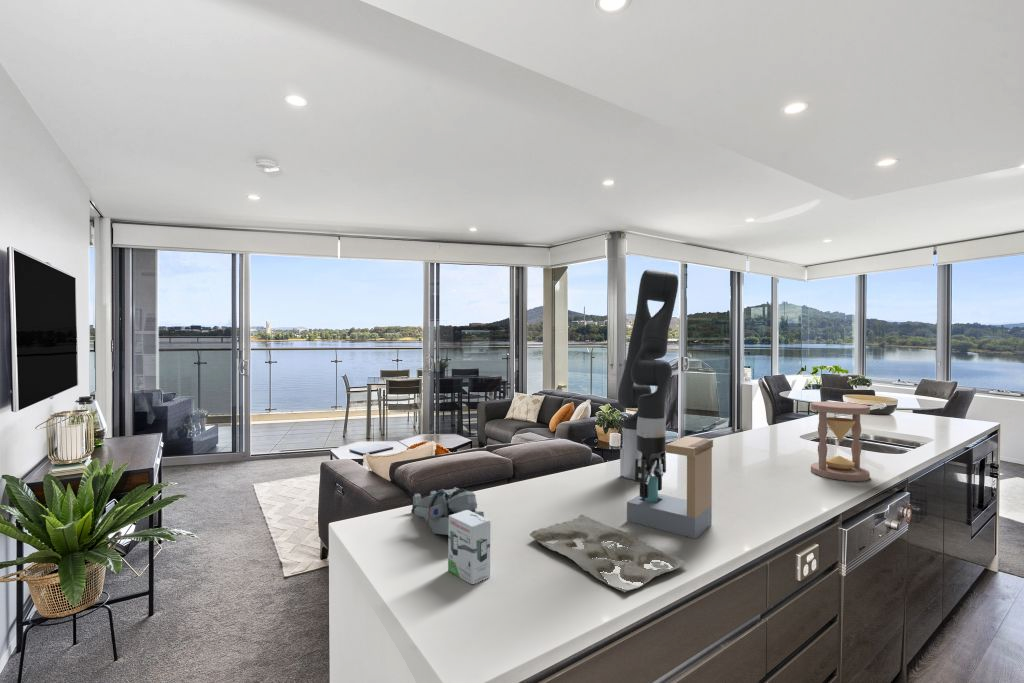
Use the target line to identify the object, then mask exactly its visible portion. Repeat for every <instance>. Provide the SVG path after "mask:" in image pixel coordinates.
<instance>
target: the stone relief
mask: <svg viewBox="0 0 1024 683" xmlns="http://www.w3.org/2000/svg"><path fill="white" fill-rule="evenodd" d="M529 536H530V537H531V538H533V539H534V540H535V542H536V543H537V545H542V546H544V547H545V548H547V549H549V550H551V551H554V552H558V553H559V554H561V555H563V556H566V557H567V558H569V559H570V560H572V561H574V563H576V565H577V566H578V567H580V568H581V569H582V570H583V571H586V572H589V573H590V574H591V575H592V576H594V577H595V578H596V579H597V580H600V581H601V582H603V583H605V584H606V585H608V586H609V587H613V586H614V585H613V586H611V585H612V584H611V585H609V584H608V582H607V580H608V579H607V580H606V579H604V577H605V576H603V573H600V572H603V571H604V572H607V573H611V572H613V570H614V569H615V566H618V565H619V566H618V567H620V568H621V569H620V573H619V574H620V577H621V578H622V579H624V580H626V581H630V582H632V583H633V582H641V583H643V585H642V586H641V587H644V585H646V583H648V582H650V581H651V580H652V579H653V578H655V577H658V576H661V575H663V574H665V573H668V572H672V571H674V570H676V569H679V568H681V567H683V566H684V564H686V563H687V561H686V560H684V559H682V558H679V557H677V556H675V555H672V554H668V553H666V552H664V551H662V550H660V549H658V548H655V547H654V546H651V545H650V544H647V543H646V542H645V541H641V540H639V539H638V538H636V537H635V536H633V535H632V534H630V533H628V532H625V531H623V530H621V529H617V528H615V527H612V526H609V525H606V524H604V523H602V522H600V521H599V520H595V519H593V518H590V517H587V516H586V515H584V514H580V515H579V516H578V517H577V518H573V519H571V520H569V521H568V520H567V521H562V522H561V523H555V524H553V525H549V526H547V527H544V528H539V529H535V530H533V531H532V532H530V533H529ZM580 538H583V539H582V541H581V543H583V544H582V546H583V545H584V546H583V547H584V549H583V548H582V549H581V548H579V549H578V545H577V543H576V542H575V541H574V539H580ZM550 541H554V543H551V542H550ZM555 541H556V542H555ZM603 541H604V542H607V541H613V544H614V545H616V543H619V545H622V546H625V548H621V549H620V548H619V549H614V548H610V547H609V548H608V547H607V546H608V545H604V544H603V543H601V542H603ZM614 542H616V543H614ZM603 545H604V546H603ZM610 545H611V544H610ZM611 546H612V545H611ZM572 547H577V548H572ZM612 547H613V546H612ZM615 547H616V548H617V545H616V546H615ZM627 547H628V548H627ZM613 549H614V550H615V551H614V550H613ZM596 557H597V558H607V559H611V560H615V561H622V560H630V561H631V562H629V561H625V562H624V563H623V564H617V565H614V564H615V563H614V562H613V561H611V560H606V559H592V558H596ZM652 560H660V561H664V562H666V563H669V564H670V565H671V566H672V567H673V568H671V569H666V568H662V569H657V570H653V569H646V568H644V564H650V562H651V561H652ZM622 562H623V561H622ZM619 587H620V586H615V587H613V588H615V589H616V590H619V591H621V592H622V593H627V592H628V591H632V590H636V589H635V588H636V587H634V588H630V589H625V588H624V589H622V588H619ZM639 588H640V587H638V586H637V589H639Z"/></svg>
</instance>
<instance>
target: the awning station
mask: <svg viewBox="0 0 1024 683" xmlns="http://www.w3.org/2000/svg"><path fill="white" fill-rule="evenodd" d="M712 448H714V439H712V438H704V437H697V436H690V435H689V436H688V435H686V436H683V437H680V438H679V439H676V440H674V441H671V442H669V443H666V451H665V452H666V453H667V454H673V455H677V456H679V455H680V456H685V457H686V499H685V498H679V497H675V496H670V495H667V494H666V495H665V494H661V493H658V503H656V504H654V503H650V502H646V501H645V498H642V497H640V494H639V495H637V496H635V497H634V498H632V499H630V500H628V501H627V502H626V521H627V522H630V521H631V523H635V524H637V523H638V524H639V525H642V526H646V527H648V528H649V527H650V528H654V529H657V530H661V531H664V532H669V533H672V534H675V535H678V536H679V535H680V536H683V537H687V536H688V537H687V538H690V537H691V539H694V538H695V539H697V538H698V537H699V536H700V535H701V534H702V533H703V532H705V529H706V530H707V529H708V528H709V527H710V526H712V525H713V524H712V522H713V521H712V520H713V519H712V518H713V517H712V507H713V506H712V505H713V504H712V502H713V501H712V500H713V499H712V497H713V496H712V495H713V494H712V491H713V488H712V486H713V485H712V484H713V483H712V482H713V481H712V480H713V479H712V478H713V477H712V476H713V473H712V472H713V471H712V469H713V464H712V462H713V449H712ZM698 535H699V536H698Z"/></svg>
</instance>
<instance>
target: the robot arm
mask: <svg viewBox="0 0 1024 683" xmlns="http://www.w3.org/2000/svg"><path fill="white" fill-rule="evenodd" d="M678 288H679V276H678V275H677V274H676V273H675V272H671V271H663V270H655V269H645V270H644V271H643V273H642V275H641V277H640V282H639V287H638V294H637V301H636V309H635V316H634V320H633V325H632V329H631V334H630V339H629V341H628V342H629V343H628V347H627V356H626V360H625V365H624V370H623V373H622V377H621V380H620V383H619V386H618V391H617V402H618V405H619V406H620V407H621V408H622V409H637V410H636V412H634V413H633V414H632V415H629V416H628V417H625V418H624V419H623V420H622V448H620V450H619V452H620V453H619V454H620V455H619V459H620V460H619V461H620V462H619V467H620V468H619V470H620V472H619V476H620V477H624V478H625V479H629V480H634V482H635V483H639V495H640V497H642V498H648V496H649V484H648V482H649V479H650V477H652V476H656V477H658V492H659V491H662V490H663V477H664V474H666V472H667V456H666V444H667V438H666V432H667V431H666V430H667V428H666V418H665V416H666V414H665V413H666V412H665V409H666V408H665V407H666V406H665V405H666V396H667V392H668V388H669V385H670V382H671V378H672V375H673V374H672V373H673V369H672V366H671V364H670V362H669V361H667V360H665V359H662V358H664V357H665V356H666V355H667V350H668V342H669V339H668V338H669V330H670V325H671V322H672V317H673V314H674V313H673V312H674V309H675V304H676V299H677V295H678ZM648 301H653V302H659V303H660V302H661V303H663V305H662V306H661V308H660V309H659V310H658V311H657V312H655V314H654V315H653V316H651V313H650V309H649V304H648ZM651 387H657V388H656V390H655V391H654V392H652V388H651Z"/></svg>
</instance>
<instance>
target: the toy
mask: <svg viewBox="0 0 1024 683" xmlns="http://www.w3.org/2000/svg"><path fill="white" fill-rule="evenodd" d="M411 501H412V508H411V509H410V511H411V513H410V514H414V516H418V517H422V518H424V519H428V523H429V526H430V529H431V531H432V533H433V534H437V535H442V536H443V535H446V536H448V533H449V515H452V514H455V513H459V512H462V511H465V510H469V511H472V512H474V513H476V514H478V515H480V516H482V517H484V518H485V515H484V514H485V513H484V511H482V510H481V511H480V510H479V511H478V510H477V508H478V502H477V498H476V494H475V492H474V491H471V490H469V489H464V488H457V487H456V486H454V487H453V488H452V489H444V488H442V489H439V490H437V491H436V490H431V491H430V490H429V493H428V496H424V497H422V496H421V494H420V493H414V494H413V495H412V500H411Z"/></svg>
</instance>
